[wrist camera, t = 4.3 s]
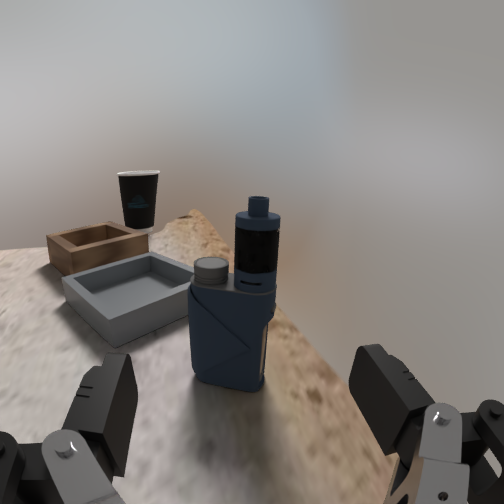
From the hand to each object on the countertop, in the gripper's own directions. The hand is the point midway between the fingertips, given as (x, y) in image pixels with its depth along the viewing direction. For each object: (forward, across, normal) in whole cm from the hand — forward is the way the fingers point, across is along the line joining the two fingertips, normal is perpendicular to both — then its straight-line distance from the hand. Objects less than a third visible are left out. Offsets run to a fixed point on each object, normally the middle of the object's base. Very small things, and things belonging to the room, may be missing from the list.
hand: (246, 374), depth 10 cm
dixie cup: (+48, +14, +8) cm, 50 cm away
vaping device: (+8, 0, +7) cm, 11 cm away
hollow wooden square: (+31, +17, +7) cm, 36 cm away
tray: (+19, +8, +7) cm, 22 cm away
